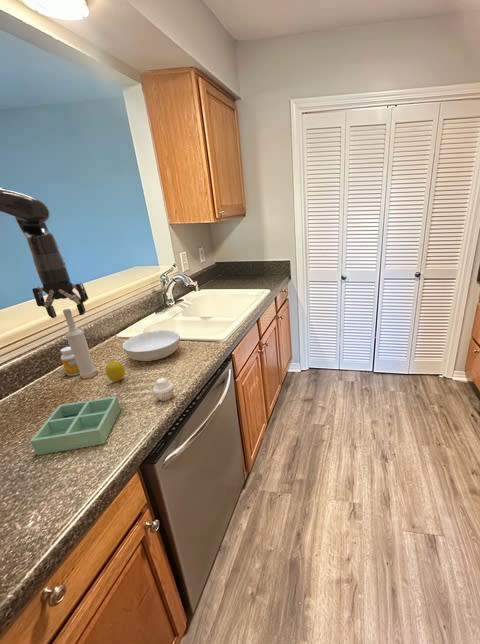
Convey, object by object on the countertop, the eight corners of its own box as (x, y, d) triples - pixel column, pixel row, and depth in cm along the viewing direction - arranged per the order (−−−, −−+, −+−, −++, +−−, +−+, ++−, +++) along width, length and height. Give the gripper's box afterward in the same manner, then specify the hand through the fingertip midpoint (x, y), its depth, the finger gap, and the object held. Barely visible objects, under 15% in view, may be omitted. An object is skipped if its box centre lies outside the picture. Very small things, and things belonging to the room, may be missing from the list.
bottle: (80, 380, 114) (56, 313, 104) (81, 374, 118) (57, 309, 108) (97, 375, 116) (75, 309, 106) (97, 370, 120) (75, 306, 110)
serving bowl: (148, 372, 116) (144, 355, 114) (116, 360, 127) (111, 344, 124) (193, 350, 132) (190, 334, 130) (161, 341, 143) (157, 326, 140)
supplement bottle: (65, 372, 120) (56, 349, 116) (82, 367, 123) (74, 344, 119) (68, 377, 116) (59, 353, 112) (85, 372, 119) (77, 348, 115)
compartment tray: (36, 455, 80) (29, 441, 78) (64, 418, 94) (58, 405, 92) (104, 443, 82) (99, 429, 81) (121, 409, 96) (117, 396, 95)
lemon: (108, 387, 108) (101, 366, 105) (110, 379, 113) (103, 359, 110) (127, 382, 110) (120, 362, 107) (127, 375, 115) (121, 355, 112)
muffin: (179, 396, 101) (175, 377, 98) (161, 406, 97) (156, 386, 94) (169, 390, 105) (165, 371, 102) (151, 399, 100) (146, 379, 98)
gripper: (18, 271, 97) (38, 322, 103) (70, 267, 99) (87, 316, 106) (32, 267, 104) (50, 314, 110) (80, 263, 106) (95, 310, 112)
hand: (68, 315), depth 108 cm, fingers open, 8 cm apart
